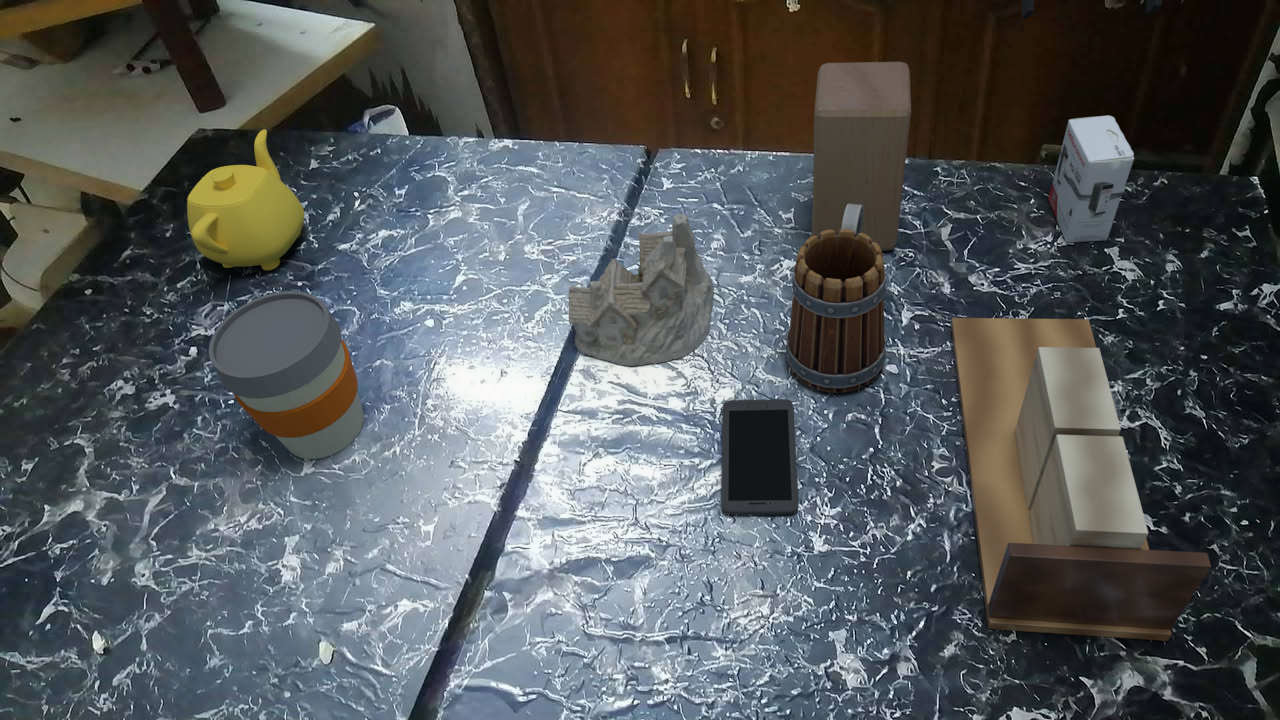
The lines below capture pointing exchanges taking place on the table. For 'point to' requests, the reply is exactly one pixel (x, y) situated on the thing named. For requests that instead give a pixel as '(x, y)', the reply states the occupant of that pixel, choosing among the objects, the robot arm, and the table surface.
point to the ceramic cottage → (646, 303)
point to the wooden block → (861, 146)
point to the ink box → (1090, 178)
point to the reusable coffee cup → (291, 372)
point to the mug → (838, 308)
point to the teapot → (245, 213)
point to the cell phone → (759, 457)
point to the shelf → (994, 443)
